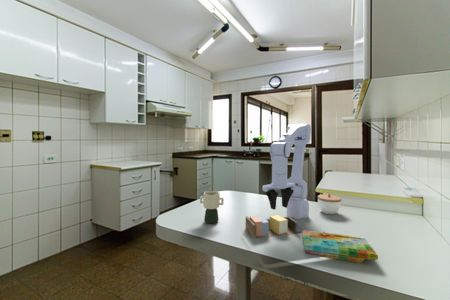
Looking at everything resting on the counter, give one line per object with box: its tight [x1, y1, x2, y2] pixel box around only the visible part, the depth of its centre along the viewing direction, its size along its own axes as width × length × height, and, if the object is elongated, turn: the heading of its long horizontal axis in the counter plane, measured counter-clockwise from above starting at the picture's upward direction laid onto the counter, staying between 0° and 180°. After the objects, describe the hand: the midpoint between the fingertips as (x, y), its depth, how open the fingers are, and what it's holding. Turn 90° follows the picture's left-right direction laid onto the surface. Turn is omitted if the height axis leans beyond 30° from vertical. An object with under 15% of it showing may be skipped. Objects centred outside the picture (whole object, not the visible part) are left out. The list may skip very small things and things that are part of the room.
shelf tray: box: [245, 216, 302, 239], centre depth 85 cm, size 21×9×6 cm, turn 103°
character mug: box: [199, 190, 225, 224], centre depth 95 cm, size 11×7×13 cm, turn 75°
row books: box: [249, 215, 269, 237], centre depth 83 cm, size 5×6×6 cm
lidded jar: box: [317, 193, 342, 215], centre depth 109 cm, size 11×11×9 cm
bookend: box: [286, 216, 303, 233], centre depth 87 cm, size 4×6×4 cm, turn 13°
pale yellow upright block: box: [268, 214, 288, 234], centre depth 85 cm, size 4×6×5 cm, turn 25°
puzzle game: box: [301, 229, 379, 264], centre depth 71 cm, size 12×5×20 cm
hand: (278, 207), depth 85 cm, fingers open, 5 cm apart
